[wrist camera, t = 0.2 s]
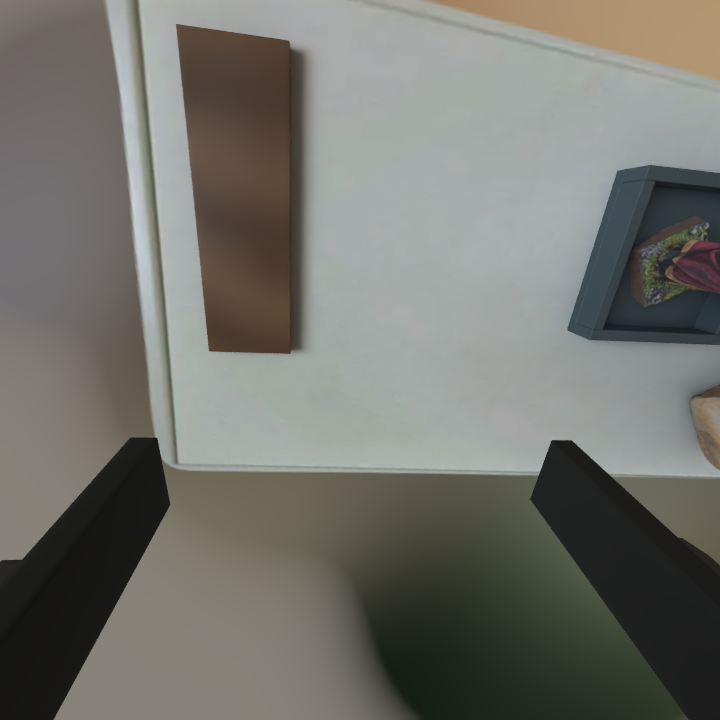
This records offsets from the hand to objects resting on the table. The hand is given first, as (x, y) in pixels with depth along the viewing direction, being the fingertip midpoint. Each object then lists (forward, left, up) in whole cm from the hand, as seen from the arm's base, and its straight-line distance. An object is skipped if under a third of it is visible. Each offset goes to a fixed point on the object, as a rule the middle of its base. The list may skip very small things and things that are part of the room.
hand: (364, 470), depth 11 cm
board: (-8, -8, -20) cm, 23 cm away
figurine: (-7, +30, -20) cm, 36 cm away
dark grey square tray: (-7, +30, -20) cm, 37 cm away
